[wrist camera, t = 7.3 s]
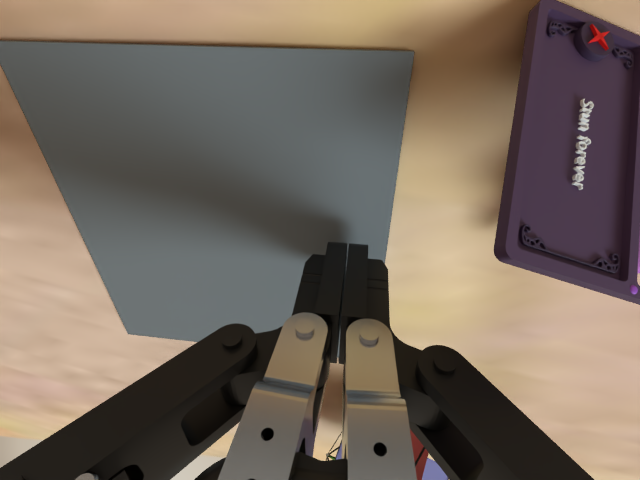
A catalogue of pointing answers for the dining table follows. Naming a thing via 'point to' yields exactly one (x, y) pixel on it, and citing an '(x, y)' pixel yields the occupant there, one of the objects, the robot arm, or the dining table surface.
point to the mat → (214, 168)
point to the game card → (575, 154)
